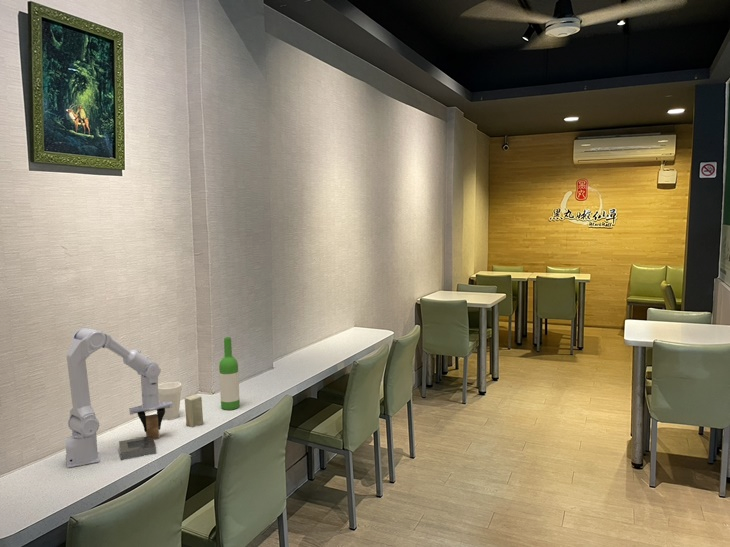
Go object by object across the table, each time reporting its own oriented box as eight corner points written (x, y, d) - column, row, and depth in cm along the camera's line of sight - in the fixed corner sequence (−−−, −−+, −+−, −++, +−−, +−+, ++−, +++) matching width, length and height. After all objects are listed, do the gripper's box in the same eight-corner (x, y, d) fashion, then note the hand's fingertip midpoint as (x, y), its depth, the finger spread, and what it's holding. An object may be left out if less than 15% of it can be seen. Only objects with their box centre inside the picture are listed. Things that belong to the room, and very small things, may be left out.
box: (197, 421, 222) (195, 394, 220) (203, 423, 219) (202, 396, 218) (185, 425, 217) (184, 397, 216) (191, 427, 215) (190, 399, 214)
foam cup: (173, 411, 234) (172, 380, 233) (187, 415, 229) (186, 384, 227) (153, 417, 226) (151, 386, 225) (167, 422, 221) (165, 390, 220)
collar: (121, 460, 187) (120, 452, 186) (119, 448, 197) (118, 441, 196) (156, 453, 192) (155, 446, 191) (152, 442, 201) (152, 435, 201)
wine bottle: (222, 411, 232) (219, 340, 229) (219, 406, 239) (216, 336, 236) (241, 409, 235) (238, 338, 232) (238, 403, 242) (235, 335, 239)
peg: (147, 440, 203) (146, 419, 202) (146, 436, 207) (145, 415, 206) (159, 438, 205) (157, 417, 204) (157, 434, 208) (156, 413, 208)
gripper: (129, 400, 197) (131, 437, 199) (172, 393, 204) (174, 429, 205) (128, 394, 204) (130, 430, 205) (169, 388, 210) (171, 423, 211)
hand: (152, 429), depth 205 cm, fingers closed on peg, 4 cm apart
